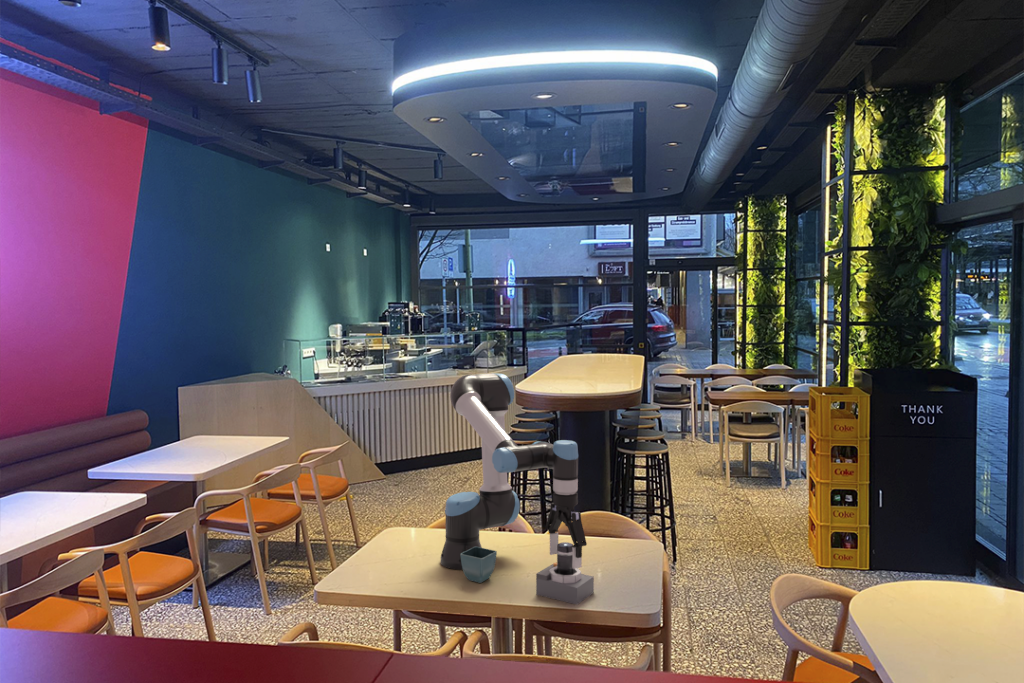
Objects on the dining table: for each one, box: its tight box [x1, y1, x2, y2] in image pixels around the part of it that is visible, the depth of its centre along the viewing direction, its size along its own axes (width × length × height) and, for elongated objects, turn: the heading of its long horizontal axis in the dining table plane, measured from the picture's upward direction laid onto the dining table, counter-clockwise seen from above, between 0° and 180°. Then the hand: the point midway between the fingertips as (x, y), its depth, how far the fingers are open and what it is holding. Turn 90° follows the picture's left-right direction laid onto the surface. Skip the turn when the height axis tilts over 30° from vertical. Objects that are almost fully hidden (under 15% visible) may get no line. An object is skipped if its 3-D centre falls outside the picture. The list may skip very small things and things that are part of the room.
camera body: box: [535, 562, 595, 606], centre depth 218 cm, size 14×11×7 cm
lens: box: [556, 541, 574, 575], centre depth 218 cm, size 5×5×10 cm
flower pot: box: [460, 546, 497, 583], centre depth 230 cm, size 9×9×9 cm
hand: (565, 560), depth 218 cm, fingers open, 13 cm apart
